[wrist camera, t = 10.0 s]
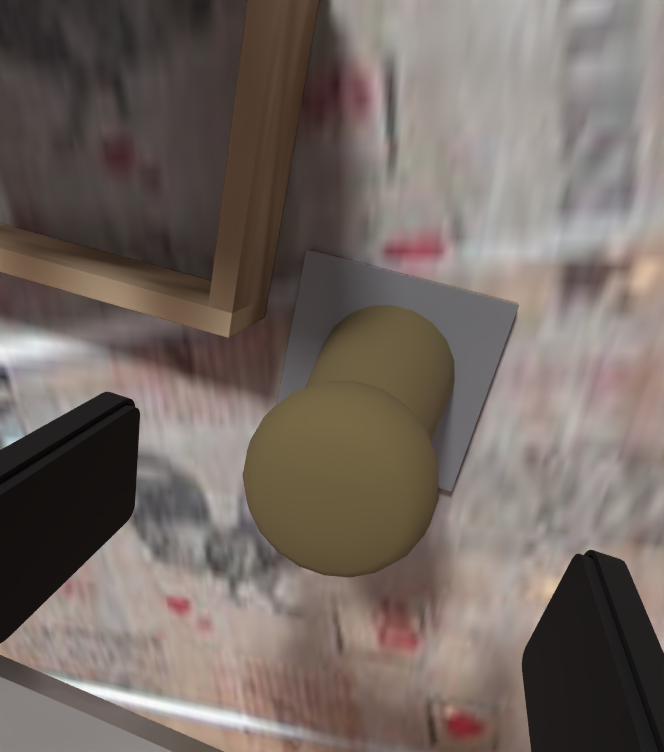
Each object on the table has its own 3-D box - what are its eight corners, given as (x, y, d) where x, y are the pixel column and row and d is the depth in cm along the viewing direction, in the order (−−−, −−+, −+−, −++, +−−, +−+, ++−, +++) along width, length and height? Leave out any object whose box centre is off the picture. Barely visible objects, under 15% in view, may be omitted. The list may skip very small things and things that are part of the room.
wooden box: (327, -49, 18) (295, -117, 14) (264, 317, 23) (228, 338, 19) (-85, -118, 20) (-204, -190, 17) (-61, 226, 25) (-148, 229, 22)
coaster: (517, 303, 20) (518, 305, 20) (451, 485, 23) (451, 491, 23) (309, 249, 21) (306, 250, 21) (274, 429, 25) (270, 434, 24)
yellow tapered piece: (465, 312, 20) (477, 415, 10) (444, 444, 22) (437, 641, 12) (322, 297, 21) (203, 376, 11) (315, 424, 23) (209, 588, 13)
